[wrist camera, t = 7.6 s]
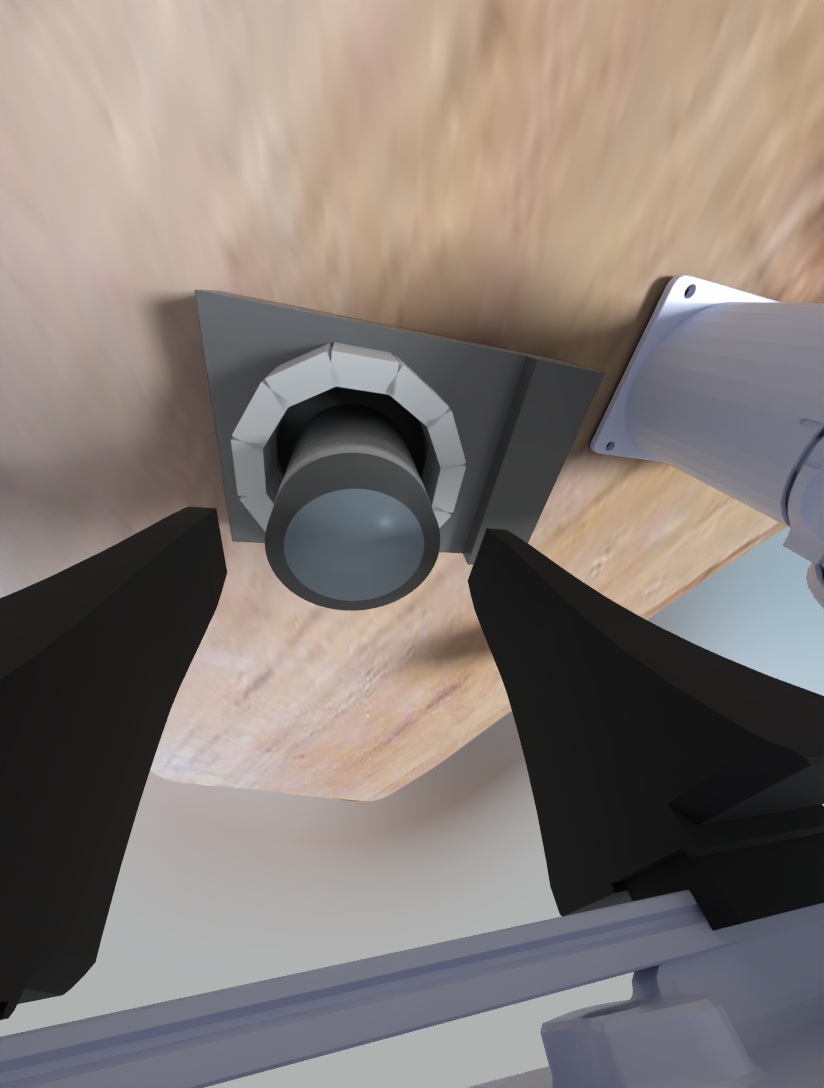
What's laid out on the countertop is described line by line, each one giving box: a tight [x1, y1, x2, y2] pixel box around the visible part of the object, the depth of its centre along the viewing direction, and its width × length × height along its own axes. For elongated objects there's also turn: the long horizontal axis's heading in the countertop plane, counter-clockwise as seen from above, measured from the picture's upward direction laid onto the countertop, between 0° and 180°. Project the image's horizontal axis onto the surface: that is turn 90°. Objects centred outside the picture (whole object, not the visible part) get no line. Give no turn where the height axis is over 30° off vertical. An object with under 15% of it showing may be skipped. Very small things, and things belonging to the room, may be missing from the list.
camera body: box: [195, 290, 604, 564], centre depth 15 cm, size 15×10×5 cm, turn 80°
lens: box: [265, 404, 440, 610], centre depth 12 cm, size 5×5×6 cm
